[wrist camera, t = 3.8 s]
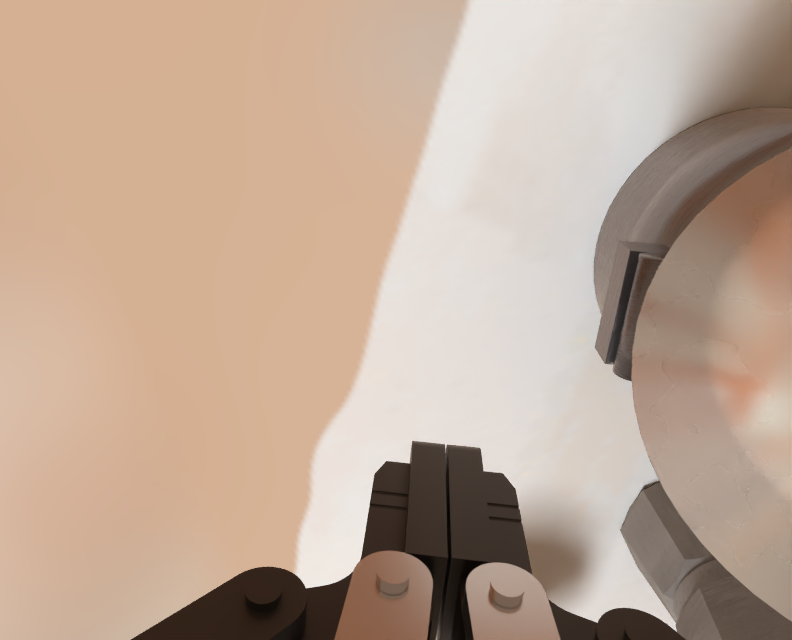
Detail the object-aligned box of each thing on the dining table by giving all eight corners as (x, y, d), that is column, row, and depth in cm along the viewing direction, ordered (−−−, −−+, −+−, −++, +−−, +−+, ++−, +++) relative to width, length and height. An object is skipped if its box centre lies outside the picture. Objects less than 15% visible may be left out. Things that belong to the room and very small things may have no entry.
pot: (944, 122, 34) (1198, 140, 22) (838, 401, 40) (996, 525, 28) (590, 89, 34) (665, 91, 23) (538, 370, 40) (578, 480, 29)
